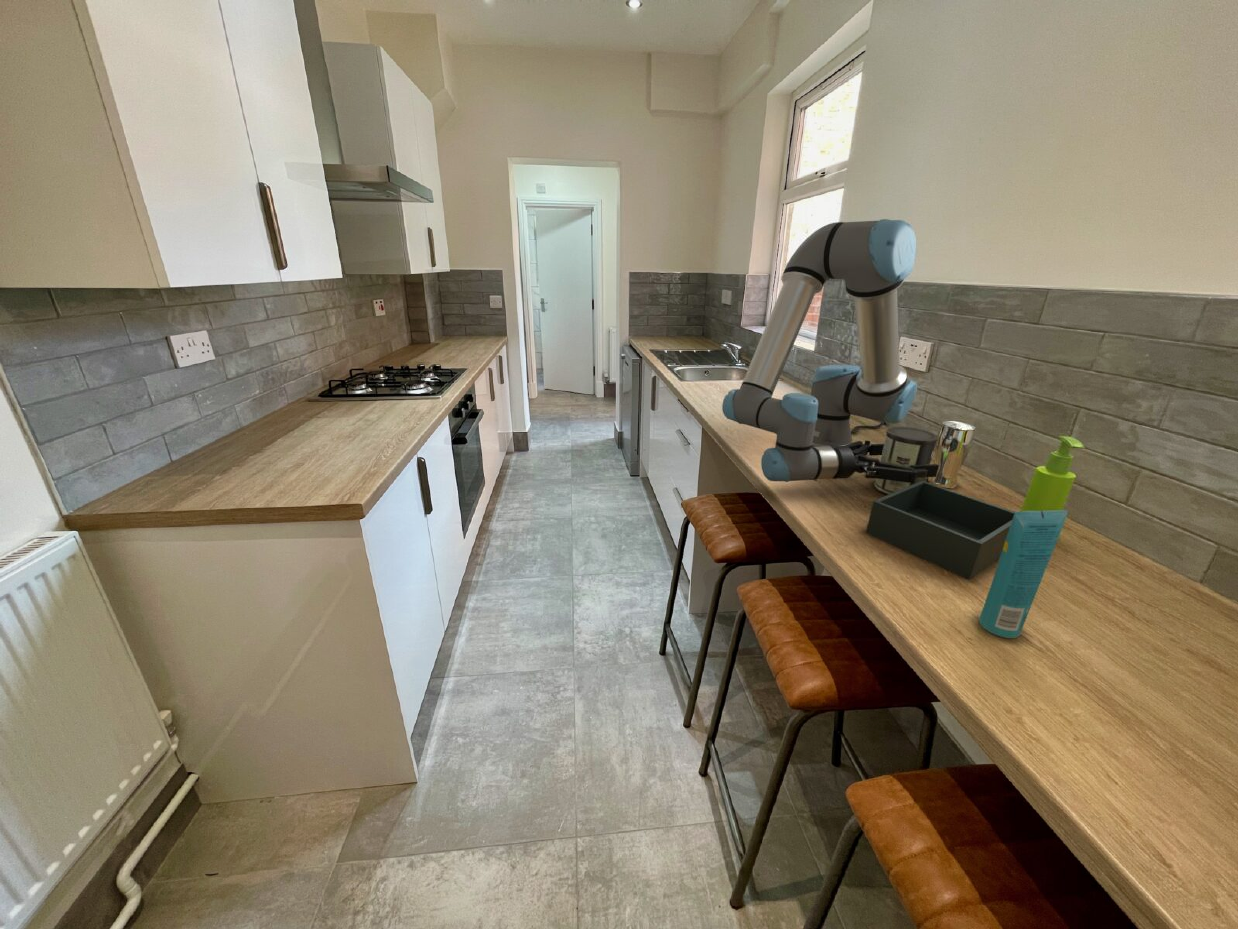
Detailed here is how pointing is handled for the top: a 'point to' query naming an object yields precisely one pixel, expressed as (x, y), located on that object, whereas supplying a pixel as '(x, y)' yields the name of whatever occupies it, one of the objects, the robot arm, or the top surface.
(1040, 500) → the soap dispenser
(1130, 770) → the top surface
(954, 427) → the silver metal cylinder
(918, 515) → the storage bin
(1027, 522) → the tube
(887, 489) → the coffee can
